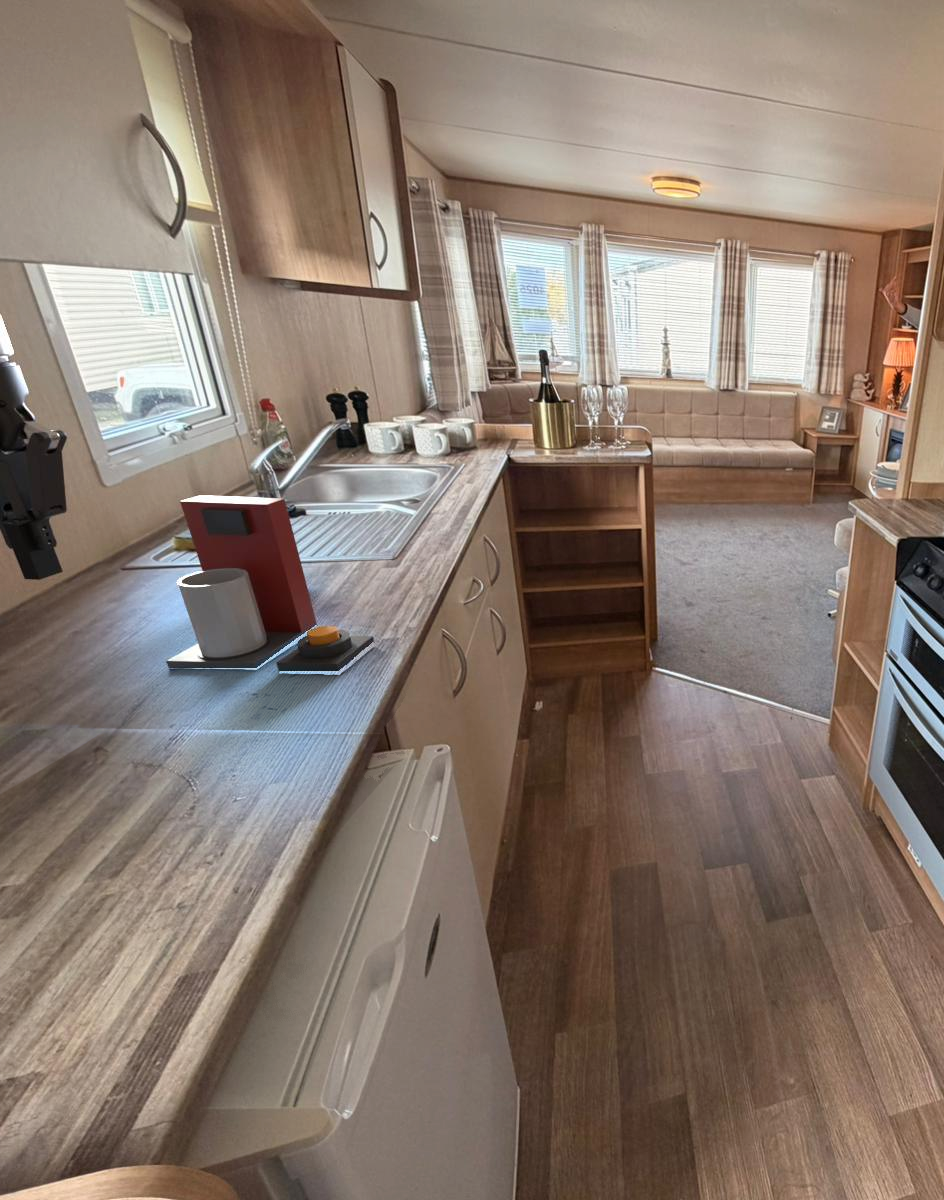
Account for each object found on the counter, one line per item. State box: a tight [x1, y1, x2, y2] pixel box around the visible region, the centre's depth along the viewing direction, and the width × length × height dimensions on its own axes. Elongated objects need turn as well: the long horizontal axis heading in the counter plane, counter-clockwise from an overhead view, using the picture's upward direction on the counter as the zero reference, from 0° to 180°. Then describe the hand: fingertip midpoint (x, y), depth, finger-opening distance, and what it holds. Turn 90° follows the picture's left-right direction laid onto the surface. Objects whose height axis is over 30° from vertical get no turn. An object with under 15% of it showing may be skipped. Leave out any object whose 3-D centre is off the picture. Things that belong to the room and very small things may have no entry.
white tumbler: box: [176, 568, 267, 658], centre depth 101 cm, size 8×8×12 cm
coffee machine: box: [165, 494, 318, 669], centre depth 101 cm, size 15×13×24 cm
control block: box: [275, 629, 375, 672], centre depth 103 cm, size 10×9×4 cm
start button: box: [307, 625, 340, 645], centre depth 102 cm, size 4×4×2 cm
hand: (44, 575), depth 73 cm, fingers closed
